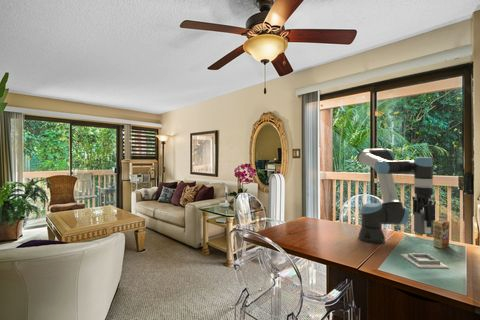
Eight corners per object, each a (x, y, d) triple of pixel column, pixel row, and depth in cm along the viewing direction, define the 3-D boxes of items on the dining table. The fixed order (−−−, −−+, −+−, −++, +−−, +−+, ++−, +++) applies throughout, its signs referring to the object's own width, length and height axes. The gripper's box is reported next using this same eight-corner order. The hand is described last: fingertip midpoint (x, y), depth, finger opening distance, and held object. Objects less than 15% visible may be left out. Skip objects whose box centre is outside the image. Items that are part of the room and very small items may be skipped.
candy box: (441, 249, 135) (442, 223, 134) (433, 246, 139) (433, 221, 138) (449, 246, 138) (449, 221, 138) (441, 243, 142) (441, 219, 142)
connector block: (414, 231, 122) (414, 209, 122) (426, 231, 121) (425, 209, 121) (420, 234, 117) (420, 211, 117) (433, 234, 116) (433, 211, 116)
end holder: (400, 255, 127) (400, 251, 127) (427, 255, 126) (427, 251, 126) (418, 267, 113) (418, 263, 113) (448, 268, 112) (448, 263, 112)
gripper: (445, 189, 109) (445, 237, 110) (418, 184, 127) (418, 226, 128) (428, 189, 110) (428, 237, 110) (404, 184, 128) (404, 226, 128)
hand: (423, 231), depth 119 cm, fingers closed on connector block, 5 cm apart
